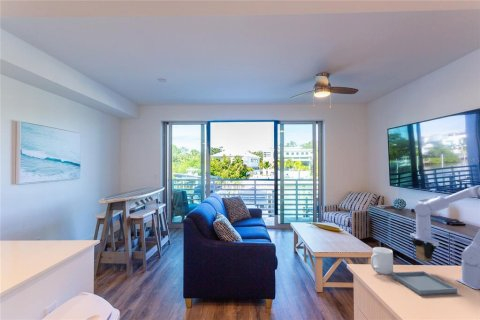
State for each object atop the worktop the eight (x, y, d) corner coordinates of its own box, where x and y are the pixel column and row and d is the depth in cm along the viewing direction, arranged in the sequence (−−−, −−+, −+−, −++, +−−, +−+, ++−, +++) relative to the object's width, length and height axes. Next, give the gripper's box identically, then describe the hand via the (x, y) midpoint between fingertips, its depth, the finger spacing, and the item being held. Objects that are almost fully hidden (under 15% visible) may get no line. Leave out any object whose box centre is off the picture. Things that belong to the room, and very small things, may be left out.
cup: (397, 272, 116) (396, 251, 116) (379, 277, 111) (378, 255, 112) (381, 266, 124) (381, 246, 124) (363, 270, 119) (363, 249, 119)
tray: (423, 275, 113) (423, 271, 113) (457, 293, 97) (456, 288, 97) (391, 277, 112) (391, 272, 112) (419, 295, 96) (419, 290, 96)
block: (424, 257, 120) (424, 245, 120) (432, 261, 115) (432, 248, 115) (416, 258, 119) (415, 245, 120) (423, 261, 115) (423, 248, 115)
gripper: (404, 224, 125) (404, 251, 124) (428, 232, 110) (429, 262, 110) (417, 224, 125) (417, 251, 125) (442, 232, 111) (443, 262, 110)
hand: (424, 256), depth 117 cm, fingers closed on block, 4 cm apart
